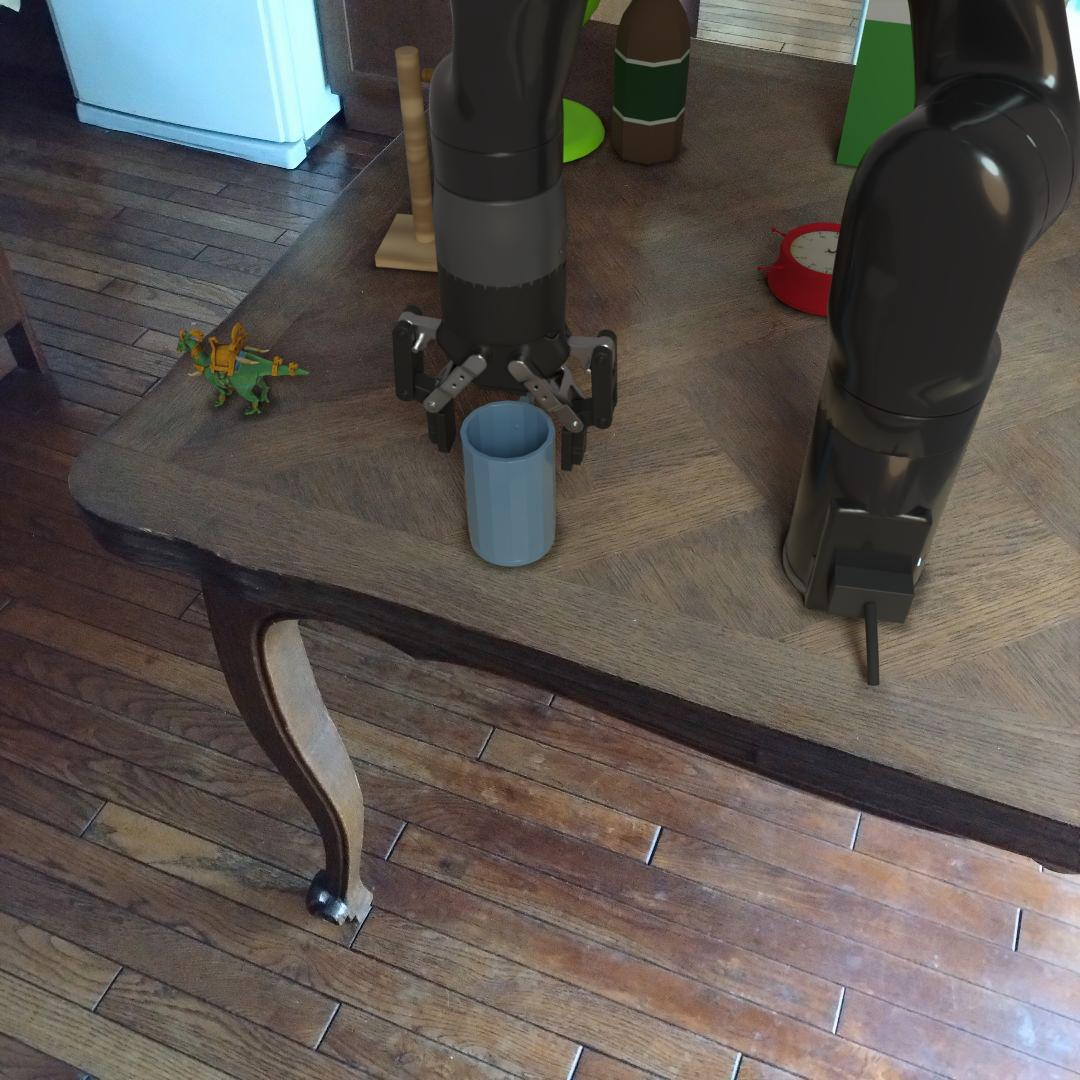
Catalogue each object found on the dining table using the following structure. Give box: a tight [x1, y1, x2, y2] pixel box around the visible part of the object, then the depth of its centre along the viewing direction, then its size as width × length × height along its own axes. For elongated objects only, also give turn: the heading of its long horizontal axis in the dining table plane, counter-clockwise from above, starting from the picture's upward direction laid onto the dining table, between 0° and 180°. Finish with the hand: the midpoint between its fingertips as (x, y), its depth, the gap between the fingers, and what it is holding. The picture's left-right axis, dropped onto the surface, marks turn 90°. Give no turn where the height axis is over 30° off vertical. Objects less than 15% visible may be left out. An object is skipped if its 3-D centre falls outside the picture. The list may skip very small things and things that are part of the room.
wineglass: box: [563, 0, 606, 164], centre depth 114 cm, size 16×16×18 cm
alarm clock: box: [757, 221, 841, 317], centre depth 96 cm, size 10×6×15 cm
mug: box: [459, 392, 557, 568], centre depth 75 cm, size 10×6×10 cm, turn 170°
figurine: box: [175, 322, 310, 416], centre depth 85 cm, size 3×12×8 cm, turn 72°
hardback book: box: [835, 0, 1070, 168], centre depth 107 cm, size 18×7×24 cm, turn 70°
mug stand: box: [374, 45, 438, 273], centre depth 97 cm, size 8×17×19 cm, turn 80°
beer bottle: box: [611, 0, 692, 165], centre depth 109 cm, size 8×8×24 cm
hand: (508, 454), depth 72 cm, fingers open, 8 cm apart
